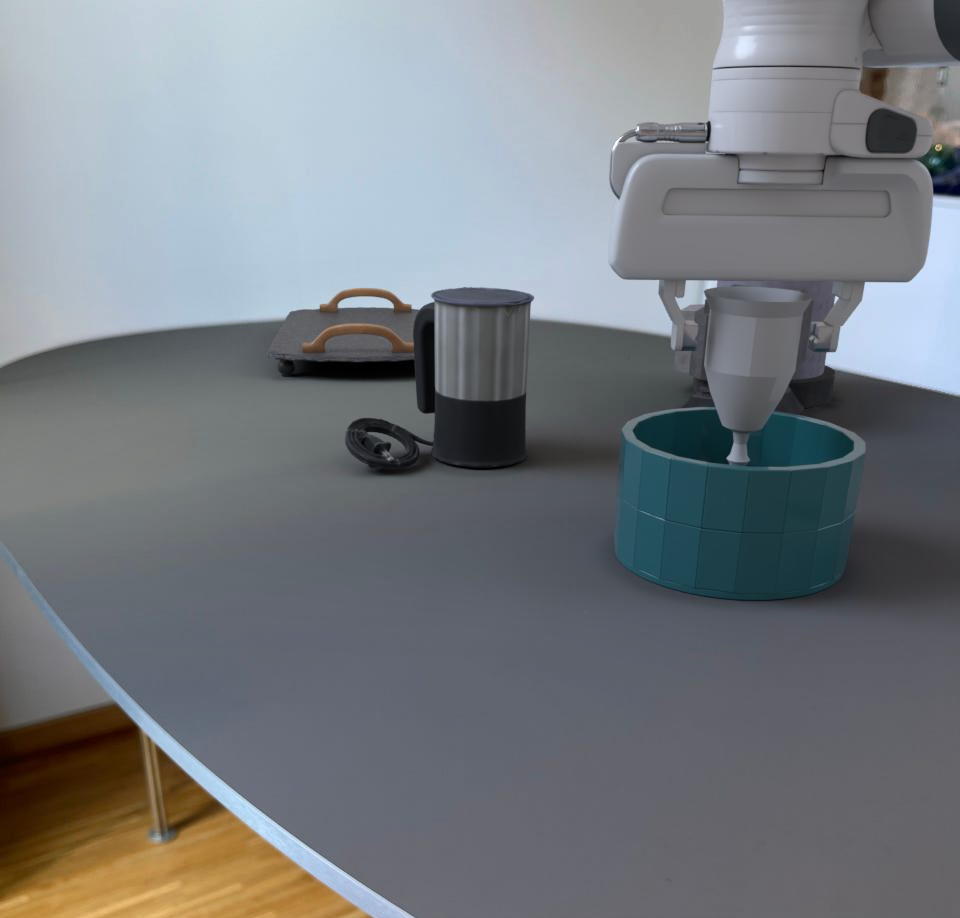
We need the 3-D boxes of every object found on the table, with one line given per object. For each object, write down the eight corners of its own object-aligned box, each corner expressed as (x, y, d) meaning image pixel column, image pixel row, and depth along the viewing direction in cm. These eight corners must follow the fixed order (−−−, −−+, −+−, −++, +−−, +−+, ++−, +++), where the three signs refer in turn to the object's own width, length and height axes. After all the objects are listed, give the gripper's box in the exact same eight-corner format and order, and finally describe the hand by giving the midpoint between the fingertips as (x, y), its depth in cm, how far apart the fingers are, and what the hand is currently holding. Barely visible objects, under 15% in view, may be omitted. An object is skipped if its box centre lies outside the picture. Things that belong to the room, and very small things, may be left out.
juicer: (713, 371, 137) (735, 163, 127) (842, 384, 131) (877, 167, 121) (645, 424, 113) (666, 171, 102) (799, 443, 107) (838, 177, 96)
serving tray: (292, 326, 163) (289, 284, 161) (442, 326, 165) (442, 284, 162) (262, 382, 129) (258, 329, 126) (454, 381, 130) (454, 329, 128)
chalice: (659, 544, 79) (681, 291, 71) (717, 525, 83) (745, 283, 75) (738, 573, 74) (772, 305, 66) (796, 551, 78) (835, 296, 70)
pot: (807, 518, 86) (824, 408, 82) (877, 601, 71) (902, 471, 67) (602, 516, 86) (610, 405, 82) (629, 599, 71) (640, 468, 67)
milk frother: (547, 453, 102) (553, 292, 96) (451, 494, 91) (451, 314, 84) (428, 430, 110) (427, 279, 103) (325, 466, 98) (316, 298, 91)
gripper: (618, 121, 63) (604, 358, 69) (961, 125, 63) (917, 361, 70) (606, 121, 69) (594, 340, 75) (921, 125, 69) (884, 343, 75)
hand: (752, 350), depth 72 cm, fingers open, 8 cm apart
